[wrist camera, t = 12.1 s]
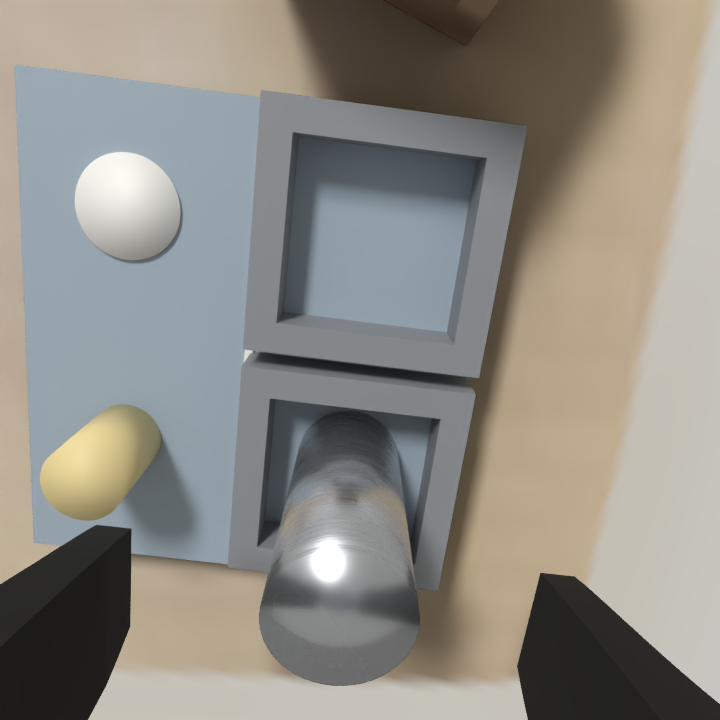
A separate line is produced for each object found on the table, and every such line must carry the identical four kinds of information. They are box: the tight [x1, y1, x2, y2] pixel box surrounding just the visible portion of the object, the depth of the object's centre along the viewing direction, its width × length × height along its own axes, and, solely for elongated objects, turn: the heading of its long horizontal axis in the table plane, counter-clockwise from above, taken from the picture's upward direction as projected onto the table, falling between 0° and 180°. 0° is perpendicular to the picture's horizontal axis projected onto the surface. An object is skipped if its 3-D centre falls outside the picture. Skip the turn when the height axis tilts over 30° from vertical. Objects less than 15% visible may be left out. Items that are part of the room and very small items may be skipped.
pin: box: [259, 411, 420, 686], centre depth 12 cm, size 3×3×6 cm
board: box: [15, 65, 528, 591], centre depth 14 cm, size 11×12×4 cm
